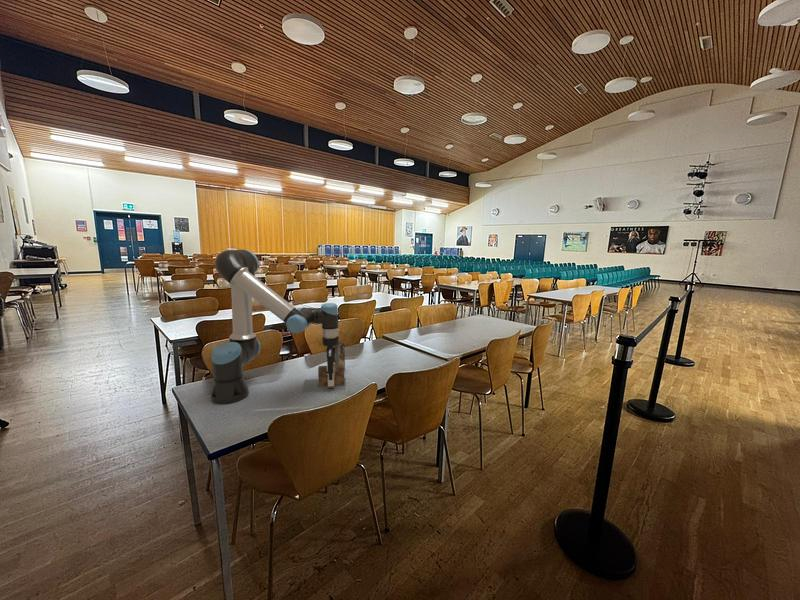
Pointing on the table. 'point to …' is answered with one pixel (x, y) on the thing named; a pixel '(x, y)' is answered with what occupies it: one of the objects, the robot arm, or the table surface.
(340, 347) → the coffee box
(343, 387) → the mat
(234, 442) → the table surface
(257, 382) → the table surface
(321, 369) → the brown u-shaped block
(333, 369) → the oak plate
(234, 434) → the table surface
